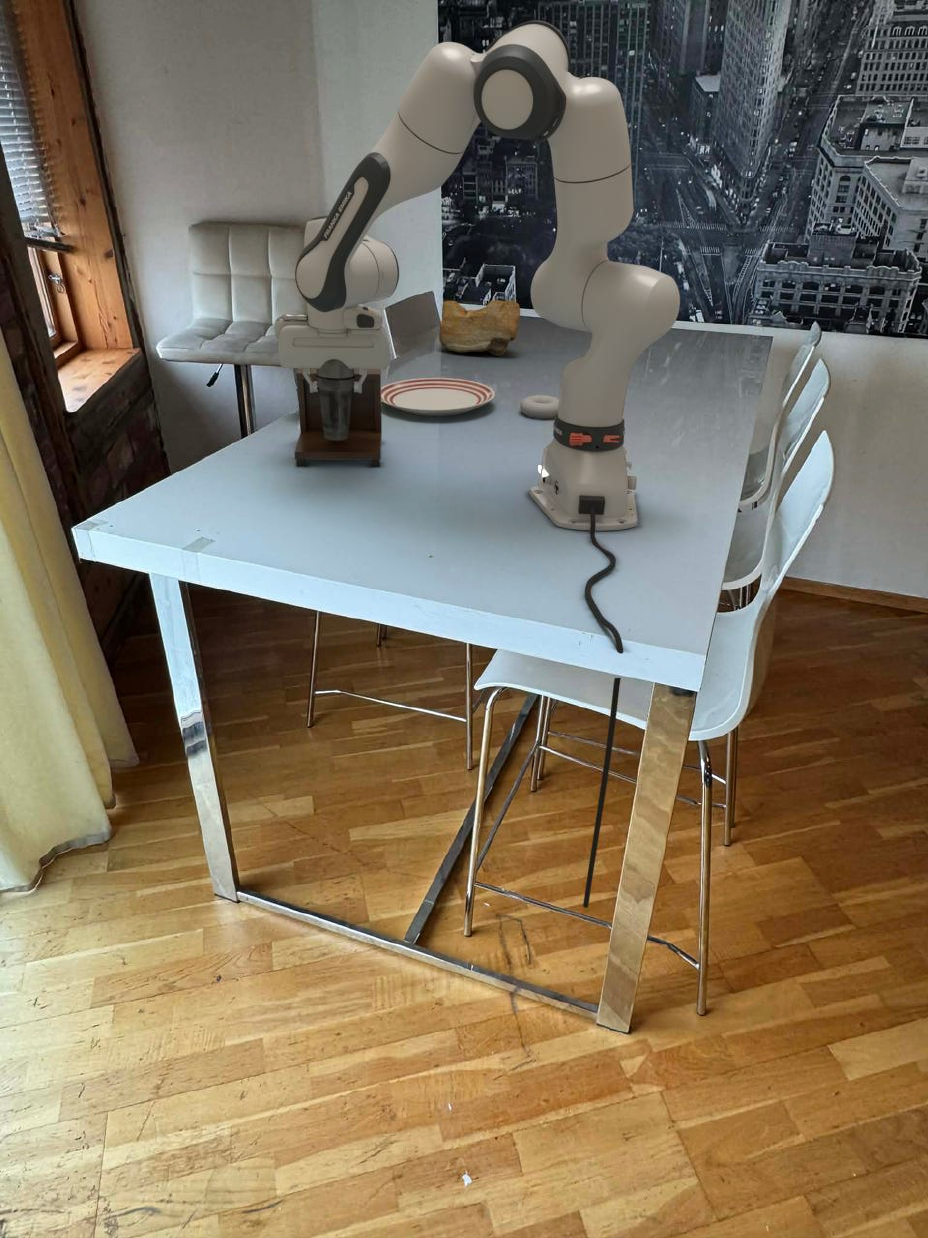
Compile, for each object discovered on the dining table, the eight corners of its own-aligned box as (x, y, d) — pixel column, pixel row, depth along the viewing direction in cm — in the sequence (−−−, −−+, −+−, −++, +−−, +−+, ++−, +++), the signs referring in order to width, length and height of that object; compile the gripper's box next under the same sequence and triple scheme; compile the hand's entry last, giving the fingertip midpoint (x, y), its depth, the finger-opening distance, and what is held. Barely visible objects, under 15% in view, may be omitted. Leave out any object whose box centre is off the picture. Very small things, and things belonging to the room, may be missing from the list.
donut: (516, 419, 190) (561, 422, 188) (517, 403, 188) (562, 406, 186) (522, 406, 198) (565, 409, 196) (523, 391, 196) (566, 394, 195)
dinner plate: (359, 416, 188) (359, 401, 186) (396, 384, 211) (396, 371, 209) (480, 428, 182) (480, 413, 181) (504, 395, 205) (505, 381, 204)
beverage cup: (310, 439, 159) (307, 328, 150) (326, 429, 165) (324, 322, 156) (345, 444, 157) (345, 332, 148) (361, 434, 163) (361, 327, 154)
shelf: (380, 467, 160) (379, 389, 153) (295, 466, 159) (289, 389, 152) (382, 441, 173) (380, 369, 166) (303, 441, 172) (298, 368, 165)
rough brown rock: (529, 352, 249) (532, 298, 242) (513, 359, 234) (516, 302, 228) (455, 346, 255) (456, 293, 249) (435, 353, 241) (436, 297, 235)
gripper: (271, 317, 147) (277, 396, 154) (389, 318, 148) (390, 397, 155) (275, 310, 152) (281, 387, 159) (389, 312, 154) (390, 388, 161)
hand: (336, 392), depth 157 cm, fingers closed on beverage cup, 7 cm apart
